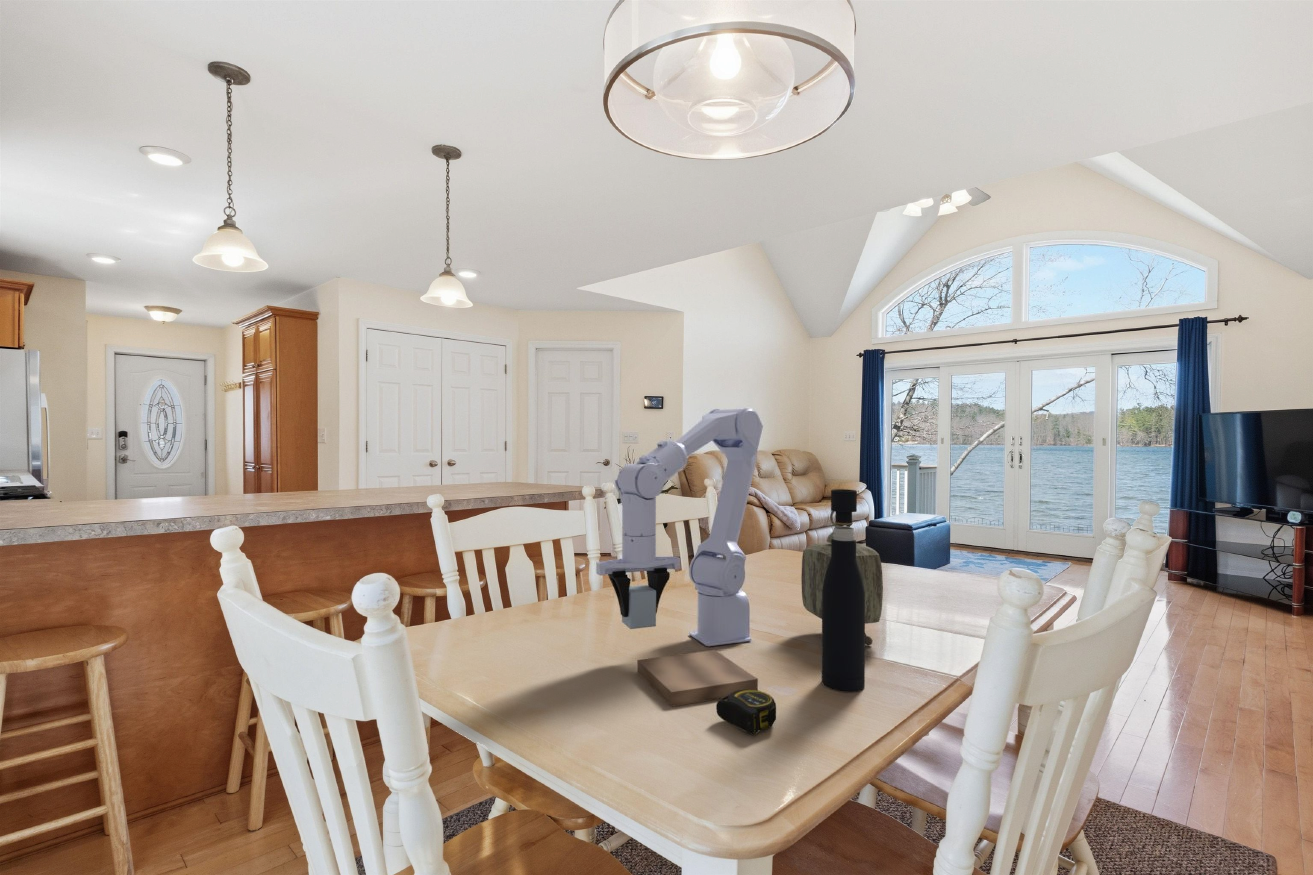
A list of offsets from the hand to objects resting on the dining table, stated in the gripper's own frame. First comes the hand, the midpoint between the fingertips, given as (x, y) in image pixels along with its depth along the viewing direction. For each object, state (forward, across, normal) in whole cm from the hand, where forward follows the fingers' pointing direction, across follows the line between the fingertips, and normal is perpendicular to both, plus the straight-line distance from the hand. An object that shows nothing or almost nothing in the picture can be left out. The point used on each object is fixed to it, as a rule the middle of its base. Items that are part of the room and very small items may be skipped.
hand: (638, 614), depth 108 cm
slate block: (+2, 0, 0) cm, 2 cm away
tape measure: (+8, -5, +28) cm, 30 cm away
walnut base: (+8, -5, +12) cm, 15 cm away
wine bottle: (+8, -26, +21) cm, 34 cm away
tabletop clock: (+8, -40, +2) cm, 41 cm away
